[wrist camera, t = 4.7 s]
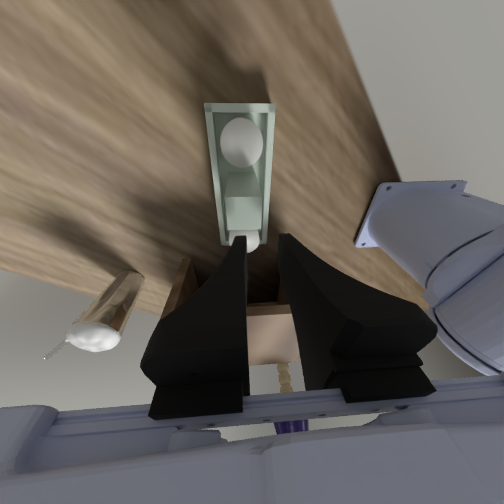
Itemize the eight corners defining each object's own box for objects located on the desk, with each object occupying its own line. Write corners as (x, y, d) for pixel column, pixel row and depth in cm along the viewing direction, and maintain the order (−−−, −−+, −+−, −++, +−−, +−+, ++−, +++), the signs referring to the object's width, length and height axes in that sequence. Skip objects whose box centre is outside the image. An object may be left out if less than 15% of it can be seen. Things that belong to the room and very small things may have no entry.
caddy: (271, 105, 14) (293, 97, 9) (264, 234, 21) (273, 275, 16) (207, 104, 14) (187, 96, 8) (222, 235, 21) (217, 278, 16)
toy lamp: (278, 333, 36) (302, 460, 22) (257, 328, 34) (270, 462, 21) (291, 320, 33) (327, 455, 20) (270, 315, 32) (293, 457, 19)
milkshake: (100, 266, 23) (26, 347, 15) (143, 265, 23) (94, 343, 15) (115, 290, 25) (60, 368, 18) (154, 289, 26) (117, 365, 18)
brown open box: (290, 254, 23) (313, 312, 16) (282, 305, 30) (296, 362, 23) (183, 259, 23) (158, 321, 16) (199, 310, 29) (187, 370, 23)
